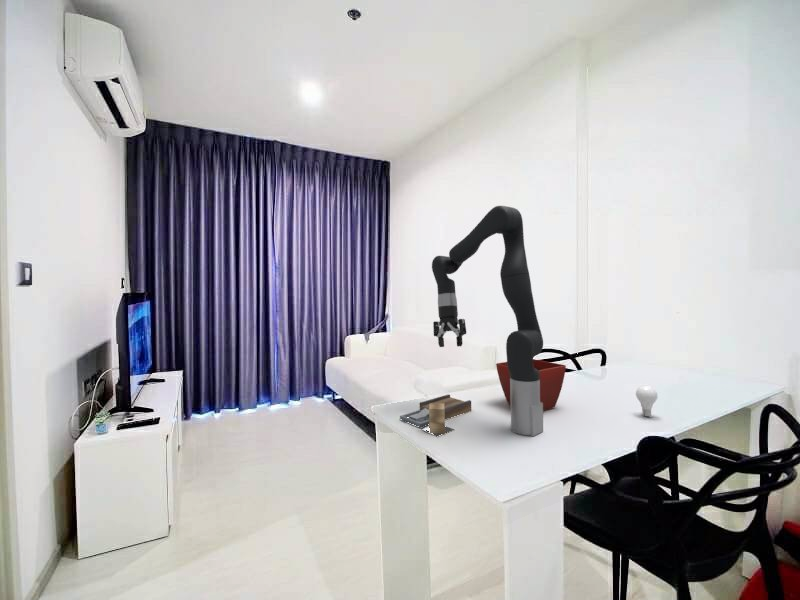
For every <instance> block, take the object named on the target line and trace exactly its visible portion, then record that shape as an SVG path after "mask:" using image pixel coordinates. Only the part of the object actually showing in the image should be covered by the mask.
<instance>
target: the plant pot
mask: <svg viewBox="0 0 800 600" xmlns="http://www.w3.org/2000/svg"><path fill="white" fill-rule="evenodd" d="M533 366H534V368H535V369H537V370H538V371H539V373H540V402H542V403H543V411H546V410H551V409H554V408H555V407H556V406H557V402H558V401H559V397H560V394H561V391H562V389H563V388H562V387H563V385H564V379H565V374H566V368H567V366H566V364H561V363H556V362H550V361H545V360H541V359H535V358H533ZM495 367H496V371H497V376H498V379H499V383H500V386H501V388H502V391H503V394H504V397H505V399H506V401H507V404H508V405H509V406H510V407H511V398H510V372H509V370H508V366H507V361H502V362H498V363H496V364H495Z"/></svg>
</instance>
